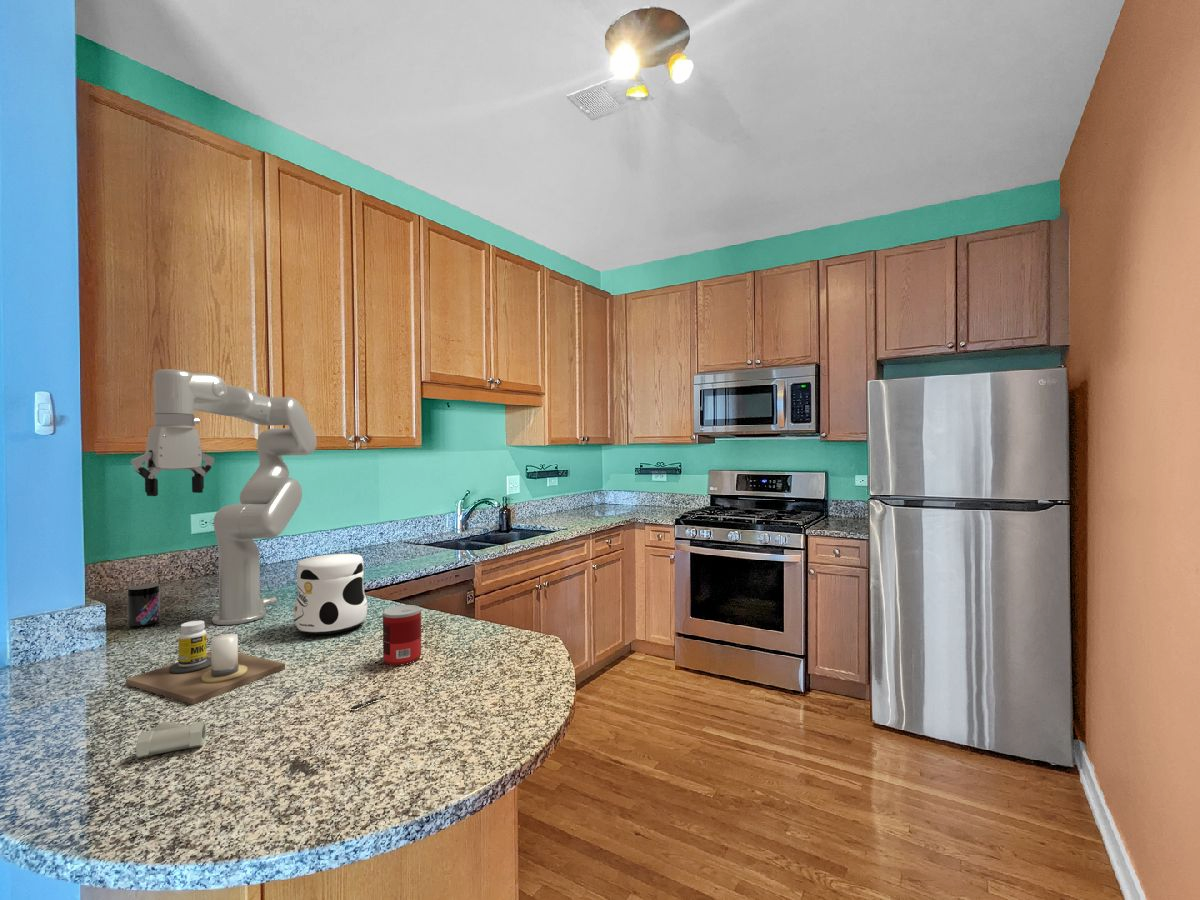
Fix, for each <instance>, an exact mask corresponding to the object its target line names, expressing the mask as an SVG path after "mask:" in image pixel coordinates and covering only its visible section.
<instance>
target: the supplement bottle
mask: <svg viewBox="0 0 1200 900" xmlns="http://www.w3.org/2000/svg"><path fill="white" fill-rule="evenodd" d="M205 627H206V626H205V621H204V620H190V621H188V622H183V623H181V625H180V632H181V633H180V634H179V635H178V662H179V666H180V667H192V666H196V665H200V664H202V663H204V662H205V661H206V655H207V653H208V651H207V630H206V629H205Z"/></svg>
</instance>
